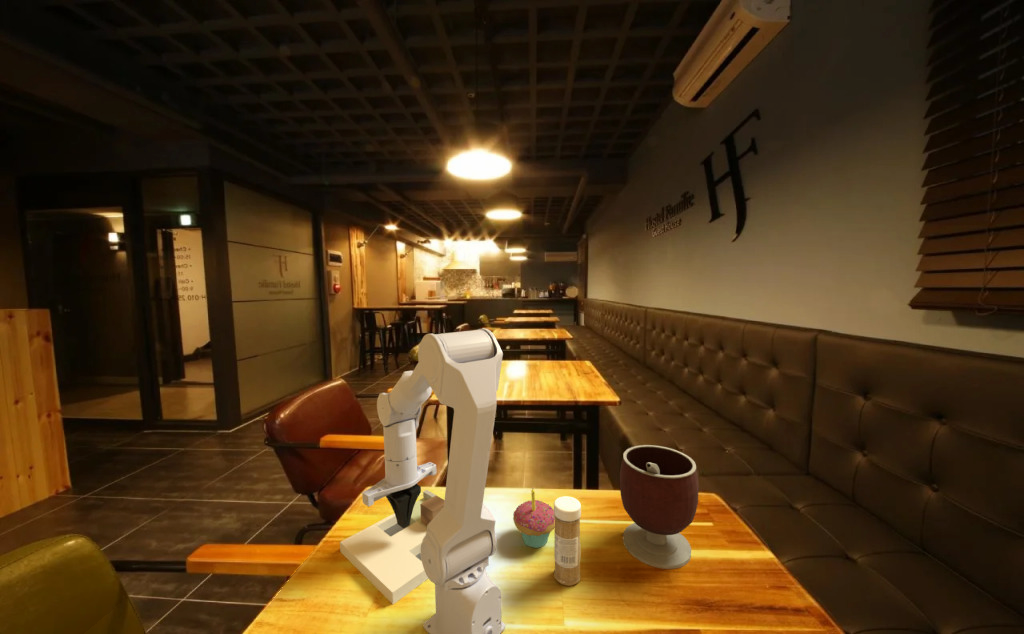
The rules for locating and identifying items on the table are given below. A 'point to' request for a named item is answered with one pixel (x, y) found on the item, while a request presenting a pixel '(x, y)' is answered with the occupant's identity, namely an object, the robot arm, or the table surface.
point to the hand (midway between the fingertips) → (403, 524)
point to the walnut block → (431, 509)
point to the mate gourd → (658, 504)
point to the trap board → (390, 553)
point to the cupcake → (534, 521)
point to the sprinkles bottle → (567, 540)
